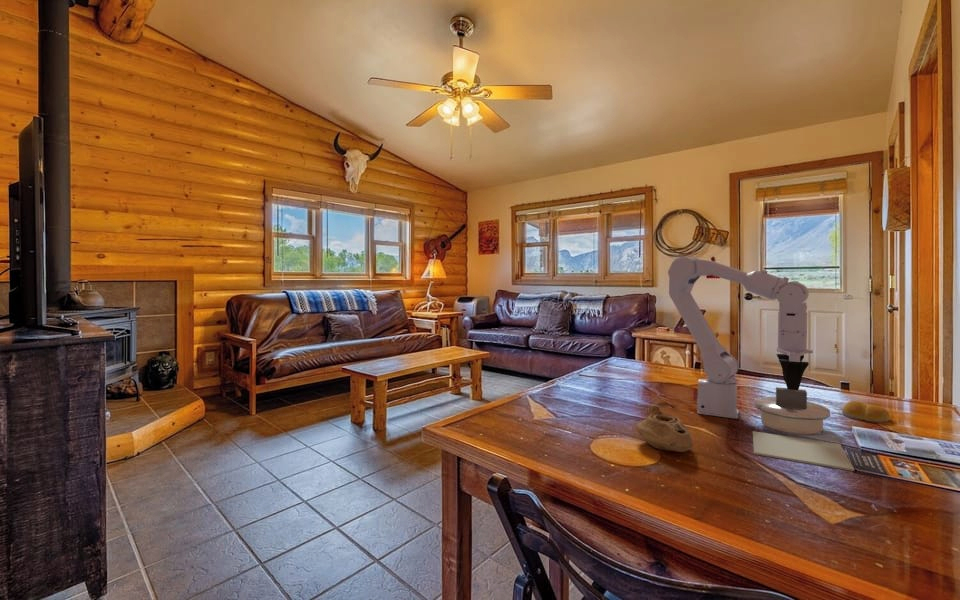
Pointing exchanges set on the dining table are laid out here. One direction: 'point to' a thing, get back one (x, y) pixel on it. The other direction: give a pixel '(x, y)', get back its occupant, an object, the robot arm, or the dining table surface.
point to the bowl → (792, 424)
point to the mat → (801, 450)
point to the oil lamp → (664, 431)
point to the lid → (792, 405)
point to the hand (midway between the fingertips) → (791, 385)
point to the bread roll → (865, 412)
